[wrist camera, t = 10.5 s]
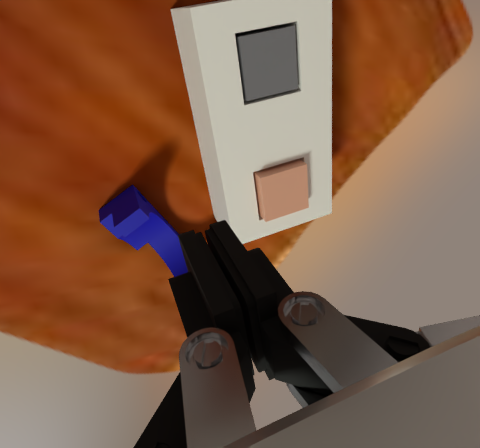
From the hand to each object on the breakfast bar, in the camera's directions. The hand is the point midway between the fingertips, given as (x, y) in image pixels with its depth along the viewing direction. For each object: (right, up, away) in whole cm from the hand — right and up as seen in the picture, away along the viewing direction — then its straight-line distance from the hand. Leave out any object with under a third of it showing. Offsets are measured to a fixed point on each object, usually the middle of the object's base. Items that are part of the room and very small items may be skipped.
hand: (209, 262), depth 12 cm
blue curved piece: (-9, 0, +30) cm, 31 cm away
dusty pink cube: (+3, +7, +29) cm, 30 cm away
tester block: (+2, +13, +27) cm, 30 cm away
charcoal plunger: (+1, +18, +23) cm, 29 cm away
